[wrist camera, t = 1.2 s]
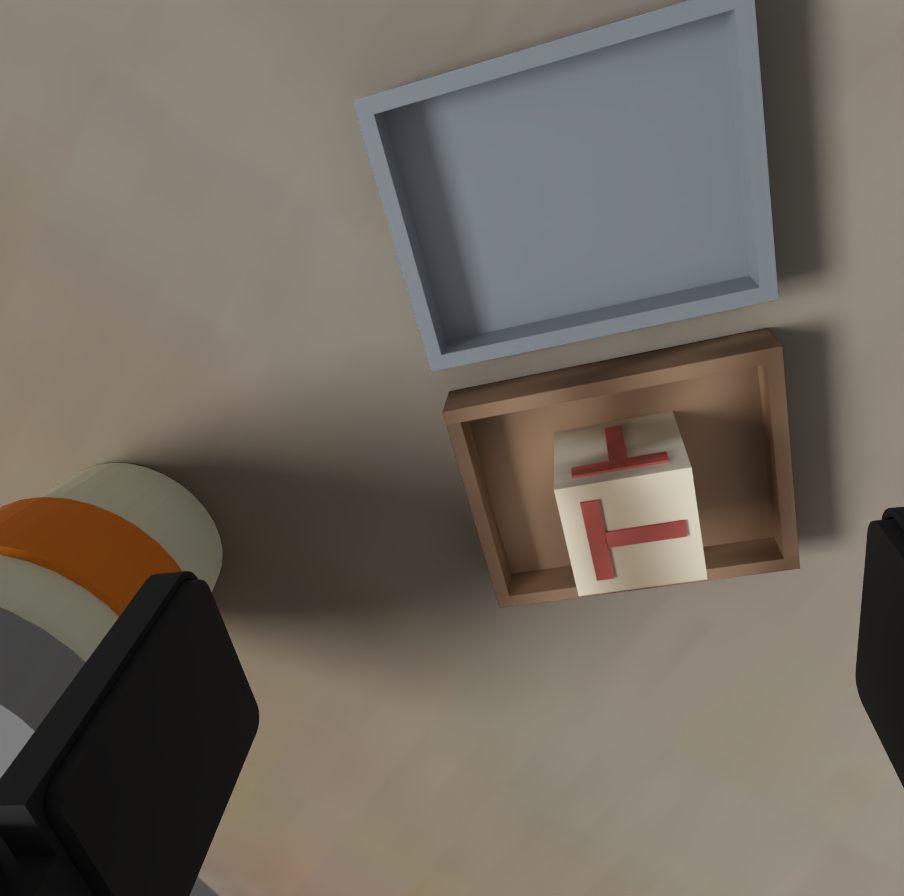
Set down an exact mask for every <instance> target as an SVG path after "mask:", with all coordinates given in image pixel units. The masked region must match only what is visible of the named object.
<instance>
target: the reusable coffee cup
mask: <svg viewBox="0 0 904 896" xmlns="http://www.w3.org/2000/svg"><path fill="white" fill-rule="evenodd" d="M222 556H223V550H222V545H221V539H220V536H219V533H218V531H217V528H216V525H215V523H214V521H213V520H212V518H211V517H210V515H209V513H208V512H207V510H206V509H205V507H204V506H203V505H202V504H201V503H200V502H199V501H198V500H197V498H196V497H195V496H194V495H193V494H191V493H190V492H189V491H188V490H187V489H185V488H184V487H183V486H182V485H181V484H179V483H177V482H176V481H174V480H172V479H171V478H169V477H167V476H166V475H164V474H162V473H159V472H157V471H154V470H152V469H149V468H147V467H142V466H138V465H134V464H129V463H106V464H99V465H95V466H92V467H90V468H87V469H84V470H82V471H80V472H79V473H77V474H75V475H74V476H72V477H70V478H69V479H67V480H65V481H64V482H62V483H60V484H58V485H57V486H55V487H53V488H52V489H50V490H48V491H47V492H45V493H43V494H42V495H40V496H38V497H37V498H31V499H23V500H19V501H16V502H13V503H11V504H8V505H5V506H2V507H1V508H0V778H1V777H2V775H3V774H4V773H5V771H6V770H7V769H8V767H9V766H10V765H11V763H12V762H13V761H14V759H15V758H16V756H17V755H18V754H19V752H20V751H21V750H22V748H23V747H24V746H25V744H26V743H27V741H28V740H29V739H30V737H31V736H32V735H33V733H34V732H35V731H36V729H37V728H38V727H39V725H40V724H41V722H42V721H43V720H44V718H45V717H46V716H47V714H48V713H49V712H50V710H51V709H52V707H53V706H54V705H55V703H56V702H57V701H58V699H59V698H60V697H61V695H62V694H63V693H64V691H65V690H66V688H67V687H68V686H69V684H70V683H71V682H72V680H73V679H74V678H75V676H76V675H77V673H78V672H79V671H80V669H81V668H82V667H83V665H84V664H85V663H86V661H87V660H88V659H89V657H90V656H91V654H92V653H93V652H94V650H95V649H96V648H97V646H98V645H99V644H100V642H101V641H102V639H103V638H104V637H105V635H106V634H107V633H108V631H109V630H110V629H111V627H112V626H113V625H114V623H115V622H116V620H117V619H118V618H119V616H120V615H121V614H122V612H123V611H124V610H125V608H126V607H127V605H128V604H129V603H130V601H131V600H132V599H133V597H134V596H135V595H136V593H137V592H138V591H139V589H140V588H141V586H142V585H143V584H144V582H145V581H146V580H147V579H148V578H149V577H150V576H151V575H154V574H159V573H170V572H181V571H190V572H193V573H194V574H195V575H196V576H197V578H198V580H199V579H201V580H204V581H205V582H207V584H208V586H209V587H210V590H211V592H212V591H213V588H214V586H215V584H216V581H217V579H218V576H219V573H220V570H221V567H222Z"/></svg>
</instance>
